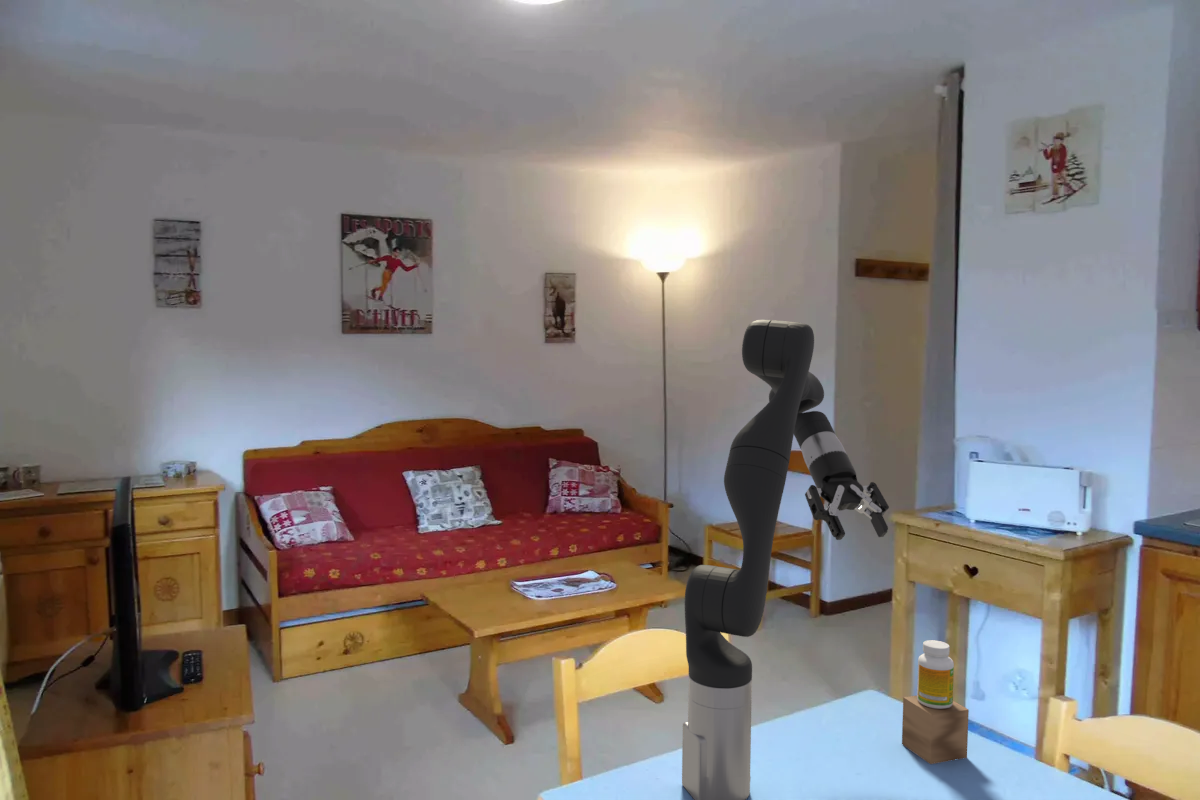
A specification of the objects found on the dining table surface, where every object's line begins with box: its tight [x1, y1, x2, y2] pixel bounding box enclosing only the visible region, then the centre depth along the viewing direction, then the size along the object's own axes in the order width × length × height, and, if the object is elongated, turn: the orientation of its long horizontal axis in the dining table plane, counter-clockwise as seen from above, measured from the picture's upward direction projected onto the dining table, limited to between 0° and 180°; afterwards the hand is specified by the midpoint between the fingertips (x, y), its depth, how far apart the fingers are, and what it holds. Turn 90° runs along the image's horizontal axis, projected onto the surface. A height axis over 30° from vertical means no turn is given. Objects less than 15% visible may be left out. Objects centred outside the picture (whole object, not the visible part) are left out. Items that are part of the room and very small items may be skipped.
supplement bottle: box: [916, 639, 955, 709], centre depth 136 cm, size 5×5×10 cm
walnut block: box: [901, 694, 970, 765], centre depth 137 cm, size 7×7×8 cm
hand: (862, 536), depth 146 cm, fingers open, 8 cm apart
